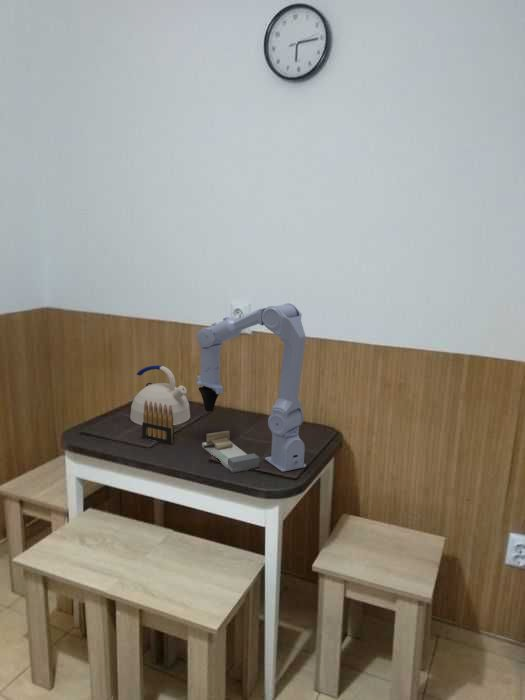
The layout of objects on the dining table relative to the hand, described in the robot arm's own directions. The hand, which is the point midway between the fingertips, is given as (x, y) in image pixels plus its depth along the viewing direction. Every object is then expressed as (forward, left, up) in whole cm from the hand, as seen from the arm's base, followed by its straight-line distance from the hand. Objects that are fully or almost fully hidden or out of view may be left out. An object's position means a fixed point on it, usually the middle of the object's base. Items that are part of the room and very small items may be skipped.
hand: (209, 410), depth 163 cm
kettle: (+26, +6, -10) cm, 28 cm away
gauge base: (-14, 0, -9) cm, 17 cm away
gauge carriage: (-8, +1, -8) cm, 12 cm away
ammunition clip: (+6, +14, -10) cm, 18 cm away
